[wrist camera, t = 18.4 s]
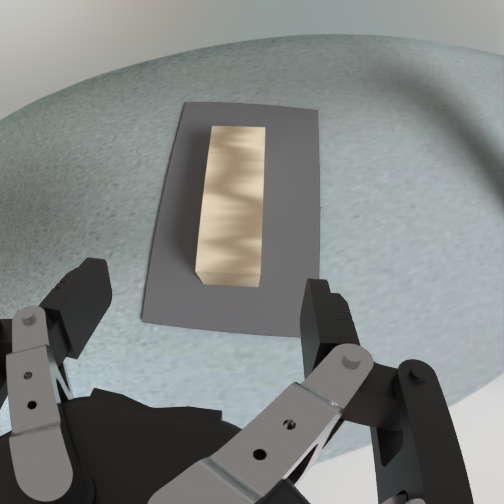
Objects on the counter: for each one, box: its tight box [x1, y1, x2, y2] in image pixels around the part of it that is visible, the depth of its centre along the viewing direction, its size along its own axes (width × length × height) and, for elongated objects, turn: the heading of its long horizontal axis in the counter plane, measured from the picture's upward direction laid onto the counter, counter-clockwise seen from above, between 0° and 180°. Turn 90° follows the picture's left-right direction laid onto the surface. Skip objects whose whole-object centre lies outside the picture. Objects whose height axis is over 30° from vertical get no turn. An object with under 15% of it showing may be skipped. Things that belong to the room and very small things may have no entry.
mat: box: [142, 102, 320, 338], centre depth 32 cm, size 16×26×1 cm, turn 175°
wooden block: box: [195, 126, 265, 287], centre depth 29 cm, size 5×5×14 cm
